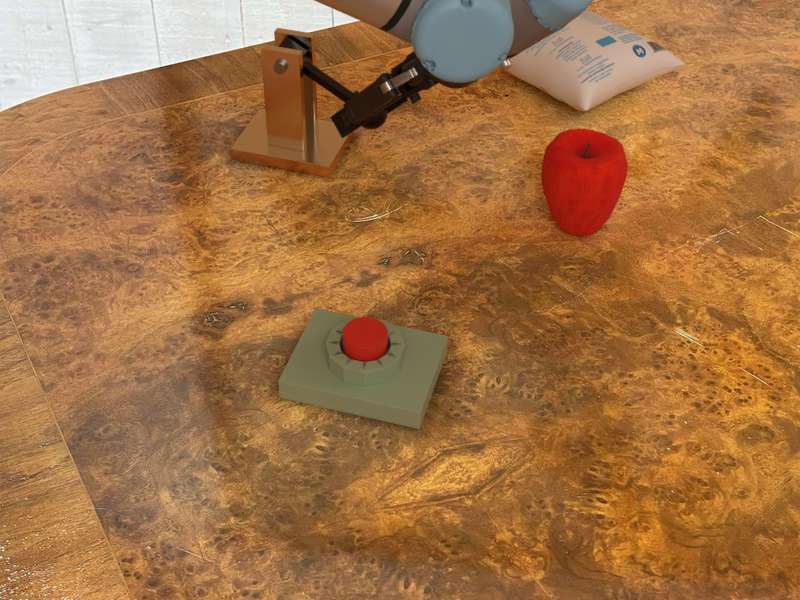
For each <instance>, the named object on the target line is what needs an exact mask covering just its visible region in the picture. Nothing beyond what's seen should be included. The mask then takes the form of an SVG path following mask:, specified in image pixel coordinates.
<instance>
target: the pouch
mask: <svg viewBox="0 0 800 600" xmlns="http://www.w3.org/2000/svg"><path fill="white" fill-rule="evenodd" d="M509 60H510V61H511V64H512V65H511V67H510V68H508V69H503V68H502V67H501V65H500V66H499V67H498V68H500V69H502V70H504V71H506V72H507V73H509V74H510V75H512V76H514V77H516V78H517V79H519V80H521V81H523V82H525V83H527V84H529V85H531V86H533V87H535V88H537V89H539V90H540V91H543V92H544V93H546V94H548V95H549V96H551V97H552V98H554V99H556V100H558V101H560V102H561V103H563V104H565V105H567V106H568V107H571V108H573V109H575V110H577V111H580V112H587V111H590V110H591V109H593V108H594V107H595V108H596V107H597V106H599V105H601V104H603V103H605V102H607V101H609V100H610V99H612V98H614V97H615V96H617V95H620V94H622V93H625V92H627V91H630V90H632V89H635V88H637V87H639V86H642V85H645V84H646V83H648V82H650V81H653V80H655V79H657V78H660V77H662V76H665V75H667V74H669V73H671V72H673V71H676V70H677V69H679V68H681V67H684V66H685V65H686V63H685V62H684V61H683V60H681V58H679V57H678V56H676V55H675V54H674V53H672V52H671V51H670V50H669V49H667V48H665V47H664V46H663V45H660V44H659V43H656V42H655V41H653V40H651V39H649V38H648V37H646V36H644V35H641V34H640V33H638V32H636V31H634V30H632V29H629V28H627V27H626V26H623V25H621V24H619V23H617V22H615V21H613V20H610V19H608V18H606V17H604V16H602V15H600V14H598V13H596V12H594V11H592V10H589V9H588V8H587V9H586V10H585V11H583V12H582V13H581V14H580V15H579V16H578V17H577V18H575V19H574V20H572V21H571V22H570V23H568V24H567V26H565V27H564V28H563V29H562V30H559V31H556V32H554V33H553V34H551V35H549V36H548V37H546V38H544V39H543V40H541V41H539V42H538V43H536V44H534V45H533V46H531V47H529V48H528V49H526V50H524V51H523V52H521V53H519V54H518V55H516V56H514V57H513V58H511V59H509Z"/></svg>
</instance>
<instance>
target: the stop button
mask: <svg viewBox="0 0 800 600" xmlns="http://www.w3.org/2000/svg"><path fill="white" fill-rule="evenodd" d="M370 317H371V316H362V317H360V318H356V319H353V320H351V321H350V322H348V323H347V324H346V325H345V327H344V328H343V350H344V352H345V354H346V355H347V356H348V357H349V358H351V359H353V360H357V361H361V362H369V361H375V360H377V359H379V358H381V357H382V356H383V355H384V354H385V353H386V351H387V347H388V330H387V328H386V326H385V325H384V324H383V323H382V322H381V321H379V320H377V319H378V318H376V319H374V318H375V317H371V318H370Z"/></svg>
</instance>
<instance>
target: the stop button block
mask: <svg viewBox="0 0 800 600" xmlns="http://www.w3.org/2000/svg"><path fill="white" fill-rule="evenodd" d="M369 317H370V318H372V316H369ZM356 318H360V317H359V316H354V315H350V314H345V313H340V312H335V311H332V310H331V311H330V310H326V309H321V308H316V307H315V309H314V310H313V312H312V313H311V316H310V318H309V320H308V322H307V324H306V326H305V328H304V330H303V331H302V334H301V336H300V338H299V339H298V341H297V343H296V345H295V347H294V349H293V351H292V353H291V355H290V357H289V359H288V361H287V363H286V365H285V367H284V368H283V371H282V372H281V374H280V376H279V379H278V380H277V383H278V385H277V386H278V396H279V398H280V399H284V400H288V401H293V402H298V403H302V404H306V405H310V406H315V407H319V408H324V409H326V410H327V409H328V410H333V411H336V412H340V413H341V412H342V413H346V414H350V415H355V416H359V417H364V418H367V419H373V420H376V421H380V422H385V423H389V424H394V425H397V426H401V427H402V426H403V427H406V428H410V429H411V428H412V429H417V430H421V428H422V427H421V426H422V424H423V421H424V418H425V416H426V413H427V410H428V407H429V405H430V402H431V399H432V396H433V393H434V392H435V391H434V390H435V387H436V385H437V382H438V379H439V377H440V374H441V371H442V368H443V365H444V362H445V359H446V357H447V354H448V345H449V335H446V334H441V333H438V332H437V333H436V332H431V331H426V330H422V329H417V328H412V327H407V326H403V325H398V324H393V323H390V322H389V321H387V320H386V319H380V318H375V317H373V318H374V319H377V320H379V321H381V322H382V323H383V324H384V325H385V326H386V328H387V330H388V347H387V351H386V353H385V354H384V355H383V356H382V357H381V358H379V359H377V360H375V361H369V362H361V361H357V360H353V359H351V358H349V357H348V356H347V355H346V354H345V352H344V350H343V328H344V327H345V325H346V324H347V323H348V322H350V321H351V320H353V319H356Z"/></svg>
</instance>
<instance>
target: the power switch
mask: <svg viewBox="0 0 800 600" xmlns="http://www.w3.org/2000/svg"><path fill="white" fill-rule="evenodd" d="M273 35H274V37H273V38H274V45H270V44H263V45H262V46H261V48H260V58H261V69H262V85H263V98H264V99H263V100H264V109H260V108H259V109H258V110H257V111H256V113H255V114H254V116H253V117H252V118H251V120H250V121H249V123H247V125H246V127H245V128H244V130H242V132H241V134H240V135H239V136H238V137H237V139H236V140H235V141H234V143H233V144H232V146H231V147H230V159H231V160H233V161H236V162H237V161H238V162H243V163H248V164H254V165H259V166H264V167H270V168H276V169H281V170H287V171H292V172H298V173H302V174H303V173H304V174H308V175H314V176H320V177H326V178H331V177H332V175H333V173H334V171H335V170H336V168H337V166H338V164H339V163H340V162H341V160H342V158H343V156H344V154H345V152H346V151H347V149H348V147H349V146H350V144H351V142H352V141H353V138H354V137H355V131H353V132H352V133H350V134H349V135H347V136H346V137H344V138H342V137H341V135H340V134H339V132H338V130H337V128H336V126H335V125H334V123H333V121H332V120H331V121H330V120H324V119H319V118H318V117H319V116H318V95H317V94H318V92H317V83H316V82H315V81H313V80H312V79H310V78H309V77H307V76H306V75H305V74H303V58H304V59H305V60H307V61H308V62H310V63H311V64H313V65H314V66H315V67H317V66H316V38H315V37H316V36H315V33H313V32H307V31H301V30H294V29H287V28H282V27H276V29H275V30H274V32H273ZM286 36H287V37H288V38H290V39H291V40H293V41H294V42H295V43H297V44H298V45H300V46H301V47H303V48H304V49H305V50H307V53H306V54H305V56H304V57H303V58H302V50H295V49H289V48H283V47H278V46H279V45H280V43H281V42H282V41H283V40H284V38H285V37H286Z"/></svg>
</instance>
